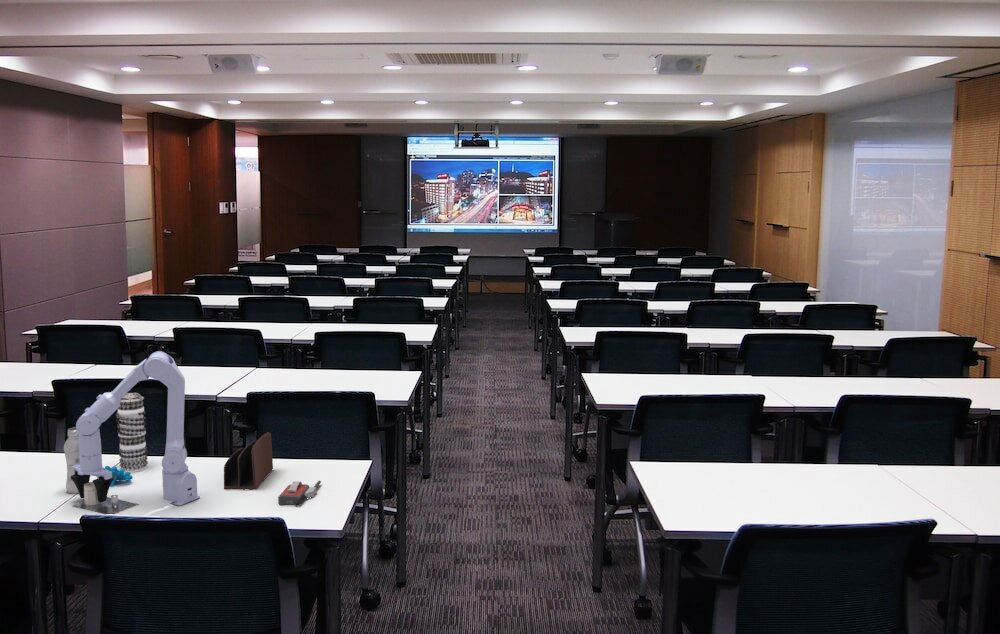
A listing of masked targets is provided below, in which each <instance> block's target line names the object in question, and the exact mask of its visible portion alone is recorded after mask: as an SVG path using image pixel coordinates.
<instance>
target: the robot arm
mask: <svg viewBox="0 0 1000 634" xmlns="http://www.w3.org/2000/svg"><path fill="white" fill-rule="evenodd" d="M149 378H151V379H153V380H156V381H159V382H160V383H162V384H163V385H165V386H166V387H167V407H166V408H167V410H166V411H167V412H166V415H167V417H166V443H165V451H164V455H163V458H162V460H161V467H162V469H161V471H162V472H161V475H162V493H163V495H162V496H163V499H164V500H167V501H172V502H170V504H171V505H175V506H182V505H186V504H188V503H190V502H192V501H194V500H197V499H200V498H201V497H200V495H198V480H197V476H196V475H195V474H194V473H193V472H191V471H190V470H189V465H187V463H186V460H187V458H188V457H187V456H188V451H187V449H186V446H185V440H184V439H185V438H184V434H185V433H184V432H185V431H184V430H185V429H184V427H185V426H184V425H185V398H186V397H185V396H186V395H185V394H186V392H185V391H186V379H185V376H184V374H183V373H182V372H181V370H180V368H179V367H178V366H177V364H176V361H175V360H174V358H173V357H172V356H171V355H169V354H167V353H166V352H164V351H161V350H158V351H155V352H152V353H151V354H150V355H149V356H148V358H145V359H144V360H142V361H141V362H140V363H138V364H137V365H136V366H135V367H134V368H133V369H132V370H131V371H130V372H129V373H128V374H127V375H126V376H125V377H124V379H122V380H121V382H120V383H119V384H118V385H117V386H116V387H115V388H114V389H113V390H112V391H111V392H110V391H108V392H104V393H103V394H99V395H98V396H96V401H94V402H93V404H92V405H91V406H90V407H86V408H85V409H84V412H83V414H82V415H80V416H79V417H78V419H77V421H76V424H75V428H76V429H77V431H78V432H79V452H80V465H78V464H77V465H74V466H72V472H73V473H75V474H74V475H71V479H72V480H73V482H74V483H75V485H76V487H77V489H78V492H79V494H78V495H79V498H80V499H84V484H86V483H89V482H90V479H91V476H92V477H96V478H95V479H93V480H92V482H93V483H94V485H95V488H96V491H97V497H98V501H99V503H101V502H104V501H106V499H107V497H108V494H109V490H110V488H111V487H110V485H111V483H112V481H113V479H114V478H113V477H112V471H109V470H107V469H105V467H104V466H103V458H102V457H103V456H102V455H103V454H102V439H101V433H100V431H101V430H100V427H101V425H102V423H104V422H106V421H107V420H108V419H109V418H110V417H111V416H112V415H113V414H114V413H115V412H116V411H118V408H119V407H120V399H121V398H122V397H123V396H124V395H125V394H126V393H129V392H130V391H131V390H132V388H133V387H134V386H136V385H137V383H140V382H141V381H146V380H149ZM97 477H99V478H97Z"/></svg>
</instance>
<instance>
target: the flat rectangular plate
mask: <svg viewBox="0 0 1000 634" xmlns="http://www.w3.org/2000/svg"><path fill="white" fill-rule="evenodd" d="M118 496H119V495H118V494H112V495H110V497H109V496H107V499H106V501H104V502H102V503H99V504H97V505H86V504H85V500H84V501H82V502H79V503H76V504H74V505H71V507H72V508H78V509H81V510H84V511H85V510H86V511H89V512H95V513H98V514H103V515H106V514H113V515H115V514H118V513H121V512H123V511H125V510H129V509H131V508H135V507H136V506H139V505H140V503H135V502H132V501H127V500H122V499H119V498H118Z"/></svg>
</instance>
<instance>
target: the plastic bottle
mask: <svg viewBox="0 0 1000 634" xmlns="http://www.w3.org/2000/svg"><path fill="white" fill-rule="evenodd" d="M63 452H64V457H65V461H66V462H65V463H66V481H65V482H66V483H65V489H66V493H68V494H71V495H75V494H78V495H79V492H78V489H77V487H76V485H75V483H74V482H73V480H72V479H71V475H74V474H75V473H73V472H72V466H74V465H77V464H78V465H80V452H79V432H78V431H77V429H76V427H71V428H68V429H67V439H66V440H65V442H64V445H63Z"/></svg>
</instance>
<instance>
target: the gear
mask: <svg viewBox="0 0 1000 634" xmlns="http://www.w3.org/2000/svg"><path fill="white" fill-rule="evenodd" d="M104 468H105V469H107V470H109V471H112V477H113V478H114V479H113V481H112V483H111V485H110V487H109V488H112V487H114V485H115V482H117V481H119V482H122V481H125V482H131V480H133V478H134V476H133V475H132V474H131V473H132V472H124V471H125V469H121V468H119V469H118V467H117V466H112V467H110V466H109V465H105V467H104ZM96 479H99V477H96Z"/></svg>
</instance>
